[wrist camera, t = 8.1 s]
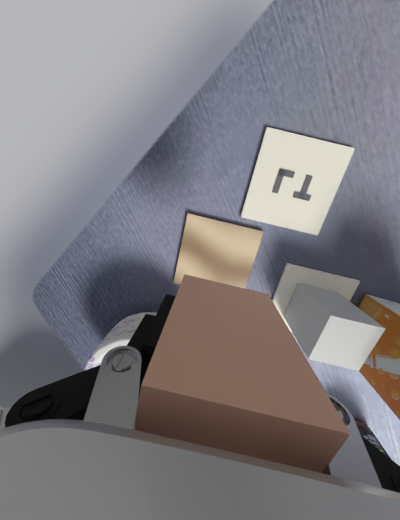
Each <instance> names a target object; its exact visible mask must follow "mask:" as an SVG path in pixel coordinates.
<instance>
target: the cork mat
mask: <svg viewBox="0 0 400 520" xmlns="http://www.w3.org/2000/svg"><path fill="white" fill-rule="evenodd" d="M263 233H264V232H263V231H260V230H256V229H252V228H248V227H243V226H239V225H235V224H231V223H227V222H223V221H219V220H214V219H210V218H206V217H202V216H198V215H194V214H190V213H188V214H187V219H186V224H185V229H184V234H183V239H182V243H181V248H180V253H179V258H178V263H177V268H176V273H175V278H174V283H175V284H179V285H180V284H181V282H182V279H183V276H184V274H186V275H190V276H194V277H198V278H203V279H207V280H211V281H215V282H219V283H223V284H228V285H232V286H236V287H240V288H244V289H245V286H246V284H247V281H248V278H249V275H250V272H251V269H252V266H253V263H254V260H255V257H256V254H257V251H258V248H259V245H260V242H261V239H262V236H263Z"/></svg>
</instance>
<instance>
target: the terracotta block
mask: <svg viewBox="0 0 400 520" xmlns="http://www.w3.org/2000/svg"><path fill="white" fill-rule="evenodd" d="M136 418H137V422H136V430H137V431H142V432H146V433H151V434H155V435H160V436H164V437H168V438H173V439H177V440H182V441H186V442H190V443H195V444H199V445H204V446H208V447H212V448H217V449H221V450H225V451H230V452H234V453H238V454H243V455H247V456H251V457H255V458H260V459H264V460H268V461H272V462H277V463H281V464H285V465H289V466H294V467H298V468H302V469H306V470H310V471H314V472H319V473H322V471H323V470H324V468H325V467H326V465H327V464H328V463H330V462H331V461H332V459H333V458H334V457H335V455H336V454H337V452H338V451H339V450H340V448H341V447H342V445H343V444H344V442H345V441H346V440H347V438H348V437H349V435H350V433H349V431H348V429H347V428H346V426H345V424H344V423H343V421H342V419H341V417H340V416H339V414H338V412H337V411H336V409H335V407H334V405H333V404H332V402H331V400H330V399H329V397H328V395H327V393H326V392H325V390H324V388H323V387H322V385H321V383H320V382H319V380H318V378H317V376H316V375H315V373H314V371H313V370H312V368H311V366H310V364H309V363H308V361H307V359H306V358H305V356H304V354H303V352H302V351H301V349H300V347H299V346H298V344H297V342H296V341H295V339H294V337H293V335H292V334H291V332H290V330H289V329H288V327H287V325H286V323H285V322H284V320H283V318H282V317H281V315H280V313H279V311H278V310H277V308H276V306H275V305H274V303H273V301H272V300H271V298H270V296H269V294H265V293H261V292H257V291H253V290H248V289H244V288H240V287H236V286H232V285H228V284H223V283H219V282H215V281H211V280H207V279H203V278H198V277H194V276H190V275H186V274H184V276H183V279H182V282H181V284H180V287H179V289H178V292H177V294H176V297H175V300H174V302H173V305H172V307H171V310H170V312H169V315H168V318H167V320H166V323H165V325H164V328H163V330H162V333H161V336H160V338H159V341H158V343H157V346H156V348H155V351H154V353H153V356H152V359H151V361H150V364H149V366H148V369H147V371H146V374H145V377H144V379H143V382H142V384H141V389H140V395H139V400H138V406H137V411H136Z"/></svg>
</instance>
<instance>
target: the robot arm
mask: <svg viewBox="0 0 400 520" xmlns="http://www.w3.org/2000/svg"><path fill="white" fill-rule="evenodd" d="M175 297H176V296H172V295H167V294H166V296H165V298H164V300H163V302H162V304H161V306H160V308H159V310H158V312H157V314H156V316H155V315H151V314H145V316H144V317H143V319H142V321H141V322H140V324H139V326H138V327H137V329H136V331H135V332H134V334H133V336H132V337H131V339H130V341H129V343H128V344H127V346H118V347H115V348H113V349H111V350H109V351H108V352H107V353H106V354H105V355H104V357H103V359H102V362H101V365H98V366H96V367H93V368H91V369H88V370H85V371H83V372H80V373H77V374H75V375H72V376H70V377H67V378H64V379H62V380H59V381H56V382H54V383H51V384H48V385H46V386H43V387H41V388H38V389H35V390H33V391H31V392H29V393H27V394H26V395H24V396H23V397H22V398H20V399H19V400H18V401H17V402H16V403H15V404H14V405H13V406H11V407H8V408H5V409H2V406H0V520H400V466H399V465H397V464H396V463H395V462H394V461H392V460H391V459H390V458H389V457H388V456H386V455H385V454H384V453H383V452H381V451H380V450H379V449H378V448H376V447H375V446H374V445H373V444H372V443H370V442H369V441H368V440H367V439H365V438H364V437H363V436H362V435H361V434H360V432H359V430H358V428H357V425H356V423H355V420H354V418H353V416H352V414H351V413H350V411H349V410H348V409H347V408H346V407H345V406H344V405H343V404H342V403H341V402H340V401H339V400H338V399H336V398H335V397H333V396H332V395H330V394H328V393H327V395H328V397H329V399H330V400H331V402H332V404H333V405H334V407H335V409H336V411H337V412H338V414H339V416H340V417H341V419H342V421H343V423H344V424H345V426H346V428H347V429H348V431H349V433H350V435H349V437H348V438H347V440H346V441H345V442H344V444H343V445H342V447H341V448H340V450H339V451H338V452H337V454H336V455H335V457H334V458H333V459H332V461H331V462H330V463H328V464H327V465H326V467H325V468H324V470H323V471H322V473H319V472H314V471H310V470H306V469H302V468H298V467H294V466H289V465H285V464H281V463H277V462H272V461H268V460H264V459H260V458H255V457H251V456H247V455H243V454H238V453H234V452H230V451H225V450H221V449H217V448H212V447H208V446H204V445H199V444H195V443H190V442H186V441H182V440H177V439H173V438H168V437H164V436H160V435H155V434H151V433H146V432H142V431H137V430H136V422H137V418H136V411H137V406H138V400H139V395H140V389H141V384H142V382H143V379H144V377H145V374H146V371H147V369H148V366H149V364H150V361H151V359H152V356H153V353H154V351H155V348H156V346H157V343H158V341H159V338H160V336H161V333H162V330H163V328H164V325H165V323H166V320H167V318H168V315H169V312H170V310H171V307H172V305H173V302H174V300H175Z"/></svg>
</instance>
